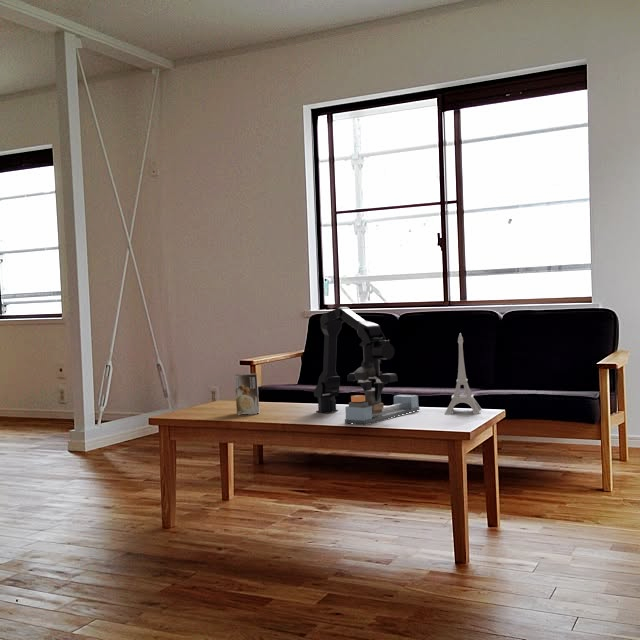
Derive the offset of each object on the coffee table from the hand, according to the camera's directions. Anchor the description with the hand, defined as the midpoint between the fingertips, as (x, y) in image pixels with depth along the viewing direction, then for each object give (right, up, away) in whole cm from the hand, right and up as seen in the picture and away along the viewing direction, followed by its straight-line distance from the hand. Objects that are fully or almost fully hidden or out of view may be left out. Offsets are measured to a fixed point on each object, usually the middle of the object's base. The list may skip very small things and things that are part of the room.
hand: (373, 400), depth 289 cm
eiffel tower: (+35, -6, +11) cm, 37 cm away
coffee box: (-49, -9, +30) cm, 58 cm away
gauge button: (-6, +1, -7) cm, 9 cm away
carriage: (0, -5, 0) cm, 5 cm away
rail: (+4, -7, +5) cm, 10 cm away
